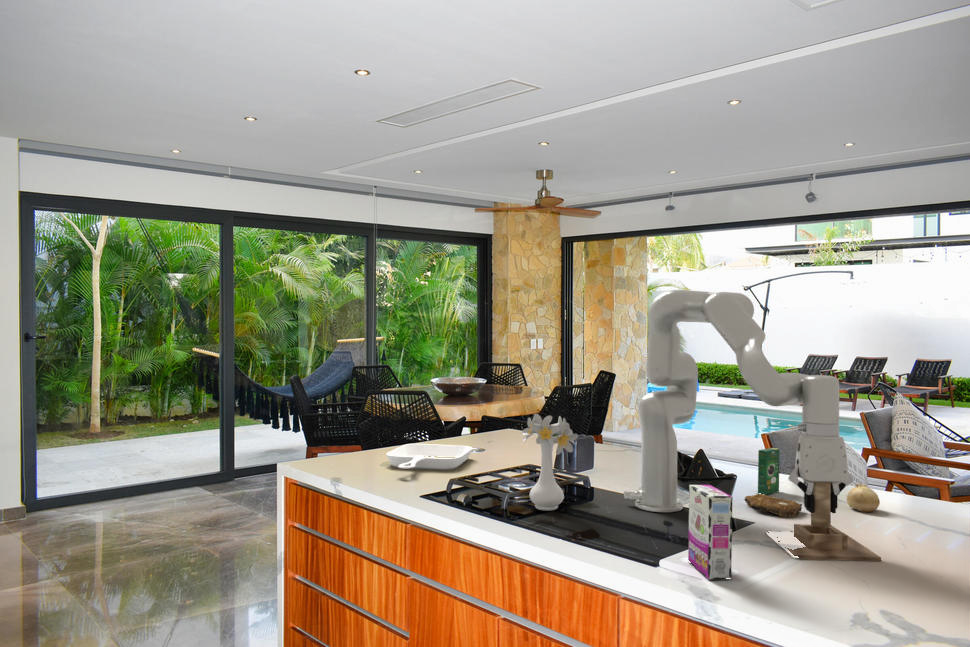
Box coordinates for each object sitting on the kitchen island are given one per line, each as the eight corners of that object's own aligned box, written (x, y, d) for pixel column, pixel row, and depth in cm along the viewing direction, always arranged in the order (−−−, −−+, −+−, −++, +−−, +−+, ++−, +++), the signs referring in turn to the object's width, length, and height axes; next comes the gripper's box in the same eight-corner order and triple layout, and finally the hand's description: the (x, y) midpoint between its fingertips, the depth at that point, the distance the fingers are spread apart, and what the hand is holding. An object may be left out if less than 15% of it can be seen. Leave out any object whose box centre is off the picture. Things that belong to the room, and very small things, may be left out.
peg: (815, 527, 156) (815, 473, 156) (807, 522, 160) (807, 469, 160) (834, 528, 156) (834, 473, 156) (826, 523, 160) (826, 470, 160)
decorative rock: (734, 512, 190) (792, 524, 180) (735, 497, 190) (792, 509, 180) (751, 502, 198) (806, 513, 188) (751, 487, 198) (807, 498, 188)
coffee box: (770, 489, 213) (771, 446, 213) (780, 491, 211) (780, 448, 211) (756, 493, 208) (757, 449, 208) (766, 495, 206) (766, 451, 206)
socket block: (793, 558, 150) (794, 540, 150) (765, 533, 168) (765, 517, 168) (881, 561, 149) (881, 543, 149) (843, 535, 167) (843, 519, 167)
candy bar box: (733, 580, 137) (734, 496, 137) (708, 581, 136) (709, 496, 136) (710, 561, 148) (710, 483, 148) (687, 561, 147) (687, 483, 147)
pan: (475, 458, 262) (475, 446, 262) (443, 482, 221) (444, 468, 221) (407, 454, 268) (407, 442, 268) (363, 478, 227) (364, 463, 227)
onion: (883, 510, 191) (883, 484, 191) (875, 516, 185) (875, 489, 185) (851, 505, 196) (851, 479, 196) (842, 510, 190) (842, 484, 190)
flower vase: (554, 519, 179) (555, 421, 179) (509, 504, 193) (509, 414, 193) (590, 511, 186) (591, 417, 186) (544, 498, 201) (545, 410, 201)
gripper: (788, 432, 155) (788, 515, 155) (866, 433, 154) (866, 516, 154) (776, 427, 162) (776, 506, 162) (851, 428, 161) (851, 508, 161)
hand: (820, 510), depth 158 cm, fingers closed on peg, 4 cm apart
